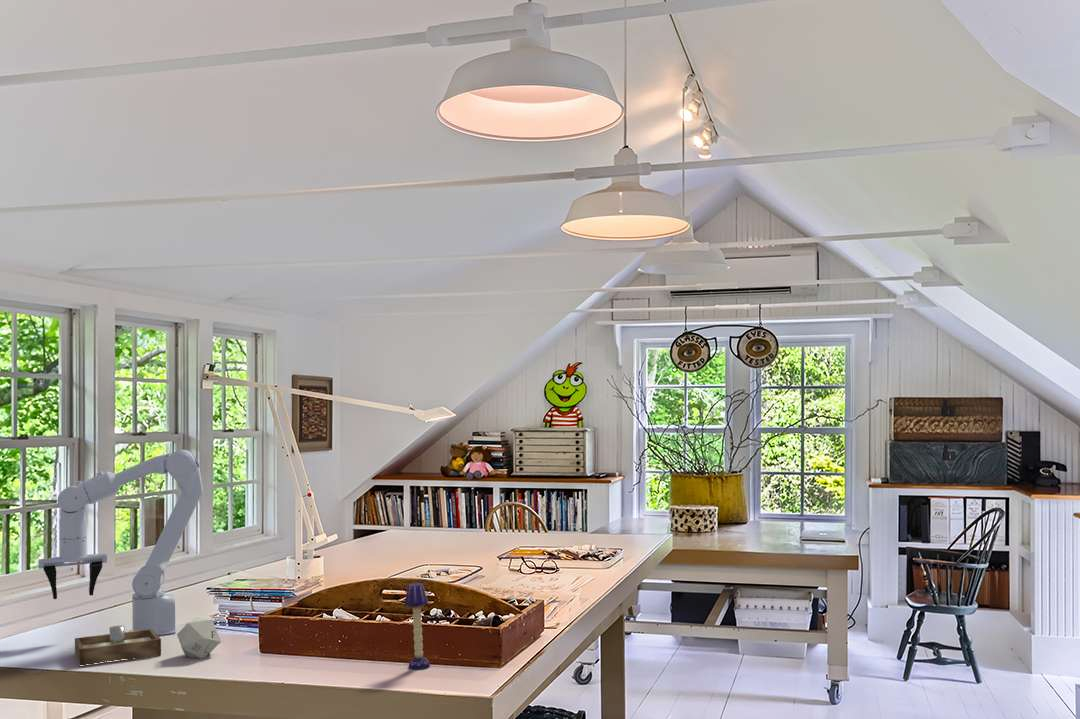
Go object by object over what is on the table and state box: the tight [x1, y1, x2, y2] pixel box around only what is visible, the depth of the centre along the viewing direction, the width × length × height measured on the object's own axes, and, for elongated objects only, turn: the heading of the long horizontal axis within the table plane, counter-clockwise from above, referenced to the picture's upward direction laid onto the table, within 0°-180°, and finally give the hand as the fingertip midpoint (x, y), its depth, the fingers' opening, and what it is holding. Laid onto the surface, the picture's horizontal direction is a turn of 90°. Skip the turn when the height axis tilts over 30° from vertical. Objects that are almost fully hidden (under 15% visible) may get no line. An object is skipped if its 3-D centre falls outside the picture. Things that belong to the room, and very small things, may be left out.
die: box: [176, 617, 222, 659], centre depth 218 cm, size 8×9×10 cm
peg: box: [109, 625, 126, 645], centre depth 221 cm, size 3×3×6 cm
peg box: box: [74, 629, 162, 666], centre depth 220 cm, size 16×12×4 cm
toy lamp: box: [404, 582, 431, 670], centre depth 206 cm, size 5×5×17 cm
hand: (73, 596), depth 236 cm, fingers open, 7 cm apart
